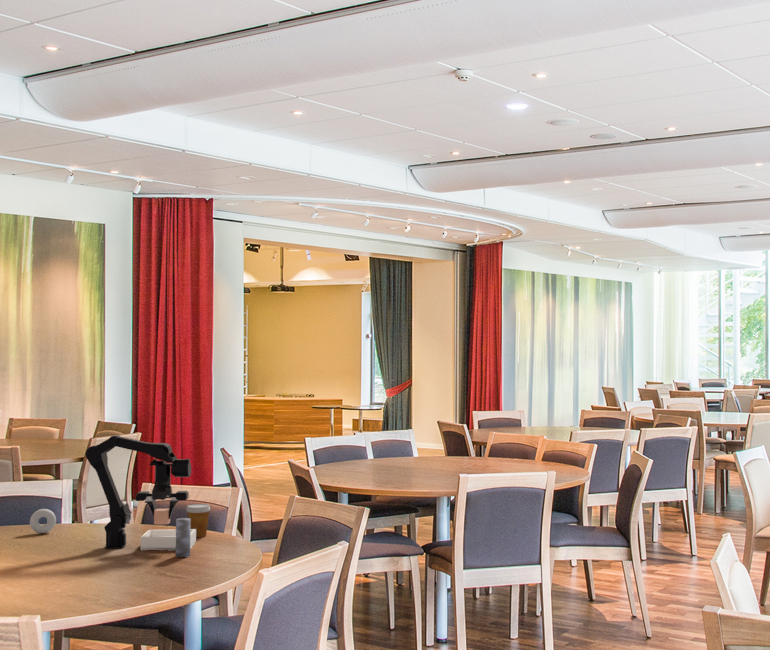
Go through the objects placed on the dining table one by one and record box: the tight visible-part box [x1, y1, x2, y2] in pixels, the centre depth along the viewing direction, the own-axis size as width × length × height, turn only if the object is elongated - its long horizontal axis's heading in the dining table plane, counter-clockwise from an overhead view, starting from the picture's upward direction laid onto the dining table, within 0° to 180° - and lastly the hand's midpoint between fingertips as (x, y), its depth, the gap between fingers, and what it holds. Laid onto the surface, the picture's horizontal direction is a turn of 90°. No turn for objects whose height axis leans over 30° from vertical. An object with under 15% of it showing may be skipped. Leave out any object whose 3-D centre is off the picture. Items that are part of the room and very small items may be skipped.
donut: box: [29, 508, 57, 534], centre depth 343 cm, size 10×3×10 cm, turn 113°
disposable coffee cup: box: [185, 503, 212, 538], centre depth 336 cm, size 10×10×12 cm
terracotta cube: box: [153, 508, 171, 525], centre depth 317 cm, size 5×5×5 cm
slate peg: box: [175, 517, 191, 558], centre depth 300 cm, size 5×5×13 cm
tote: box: [140, 528, 197, 551], centre depth 317 cm, size 18×14×5 cm
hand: (162, 519), depth 317 cm, fingers closed on terracotta cube, 5 cm apart
